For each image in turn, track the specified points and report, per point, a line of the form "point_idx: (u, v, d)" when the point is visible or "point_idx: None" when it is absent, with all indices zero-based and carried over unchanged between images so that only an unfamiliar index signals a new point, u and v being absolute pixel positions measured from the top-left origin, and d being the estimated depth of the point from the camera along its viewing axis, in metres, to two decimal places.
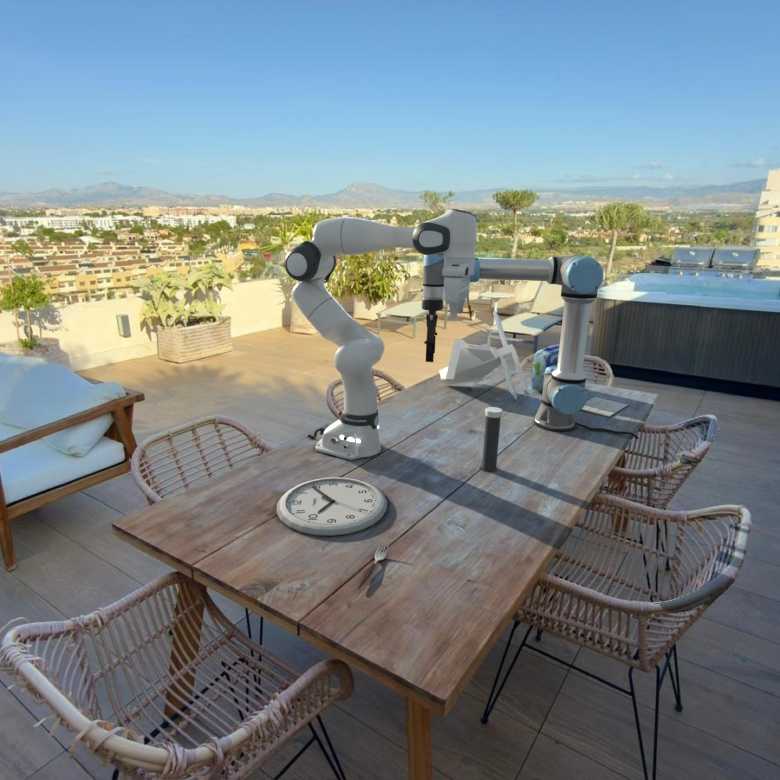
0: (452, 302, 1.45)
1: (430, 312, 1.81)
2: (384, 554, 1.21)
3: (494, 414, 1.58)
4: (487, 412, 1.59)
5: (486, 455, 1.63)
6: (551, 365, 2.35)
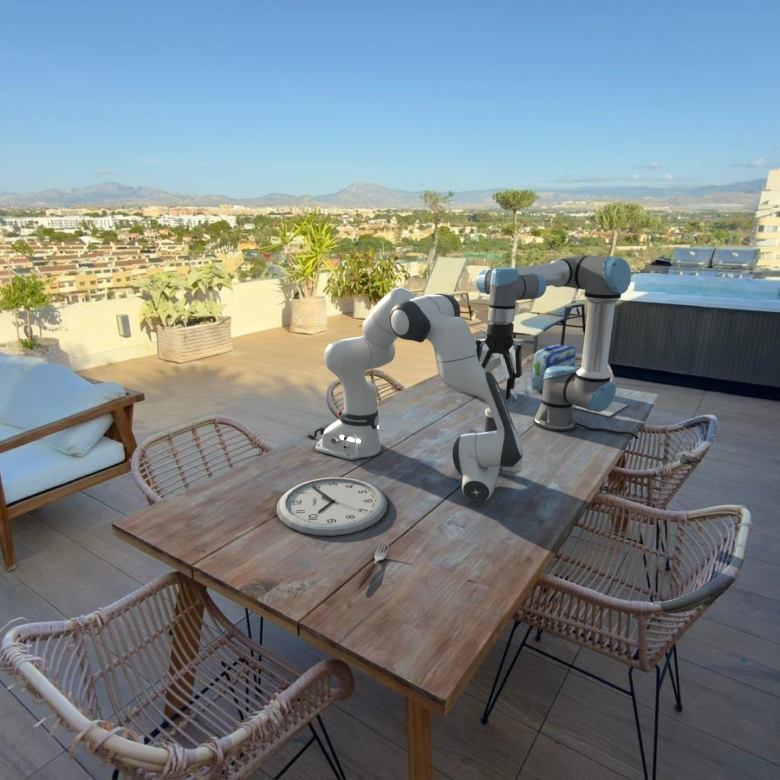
0: None
1: None
2: (384, 554, 1.21)
3: None
4: (487, 412, 1.59)
5: None
6: (551, 365, 2.35)
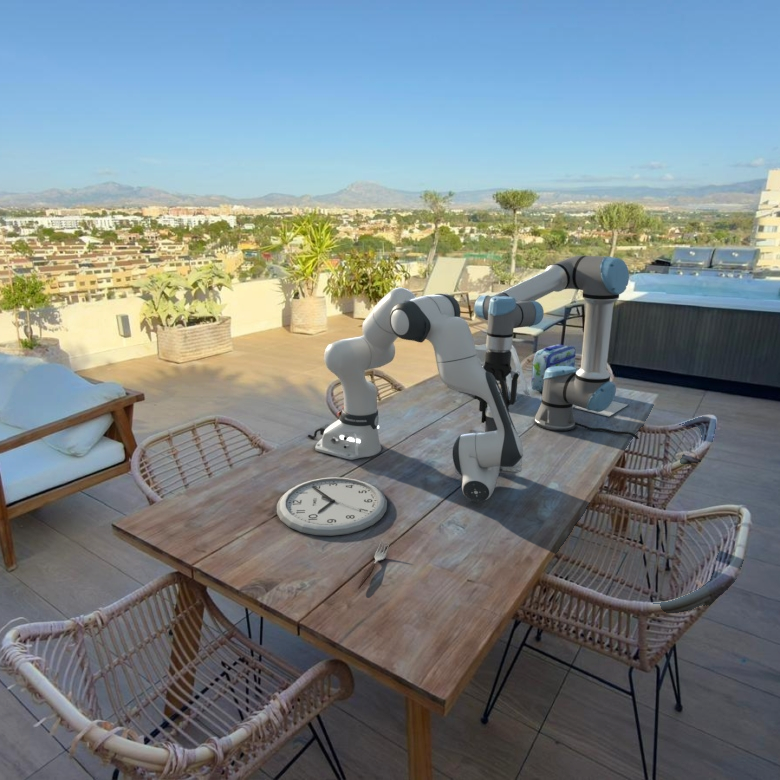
0: None
1: None
2: (384, 554, 1.21)
3: None
4: (487, 412, 1.59)
5: None
6: (551, 365, 2.35)
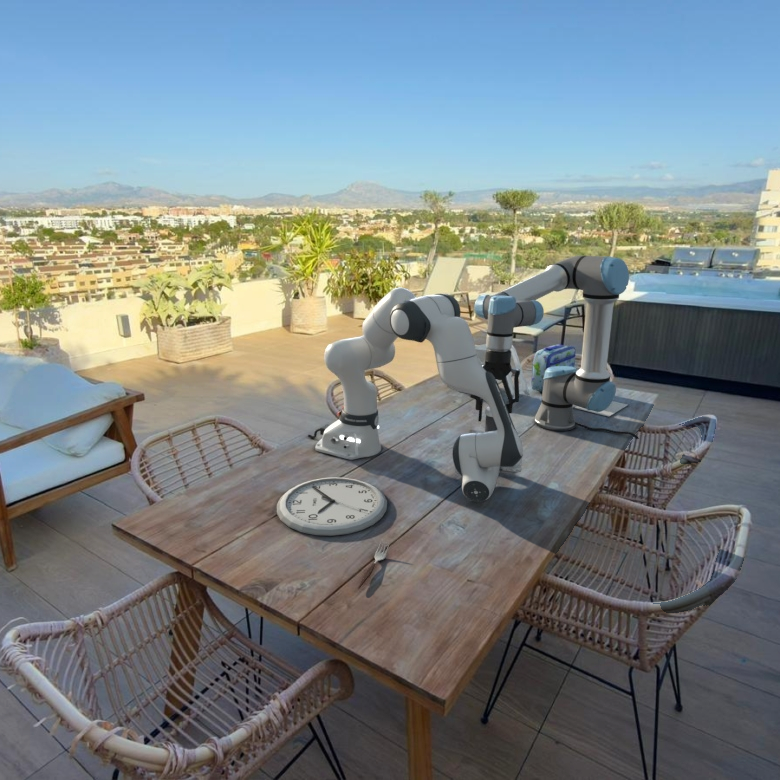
0: None
1: None
2: (384, 554, 1.21)
3: None
4: None
5: None
6: (551, 365, 2.35)
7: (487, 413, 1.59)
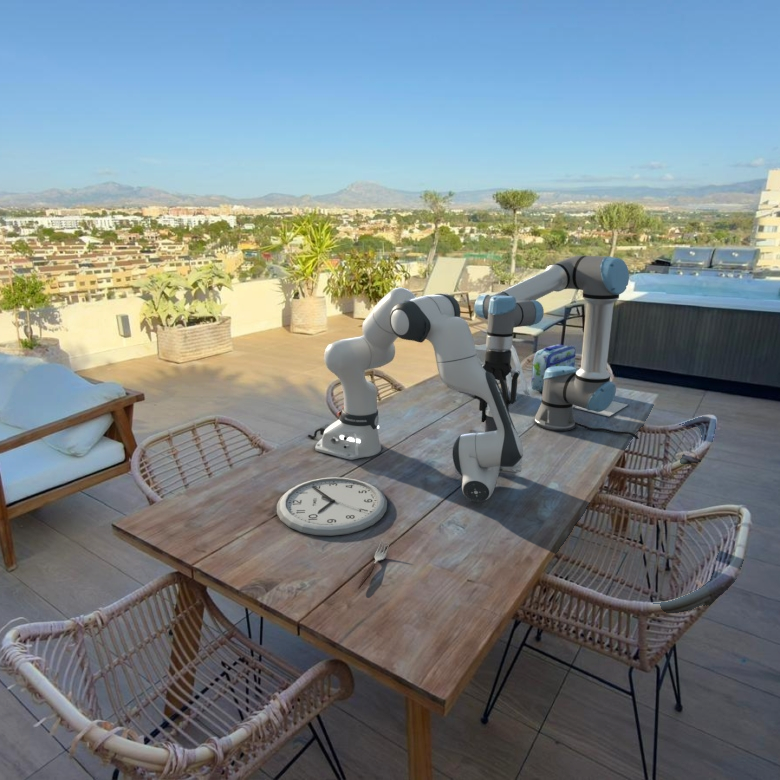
0: None
1: None
2: (384, 554, 1.21)
3: None
4: None
5: None
6: (551, 365, 2.35)
7: (487, 413, 1.59)
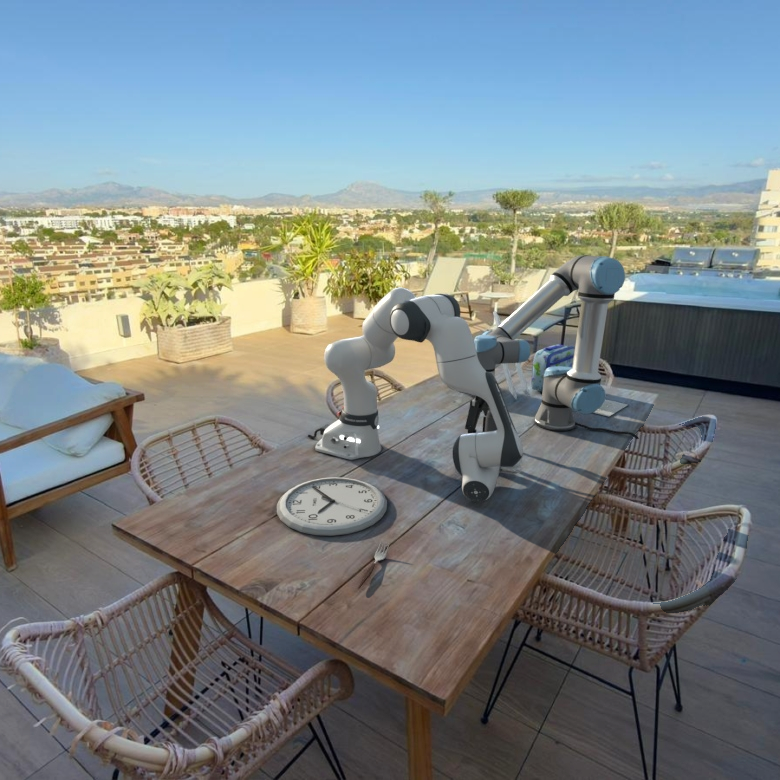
0: None
1: (476, 396, 1.74)
2: (384, 554, 1.21)
3: None
4: None
5: None
6: (551, 365, 2.35)
7: None
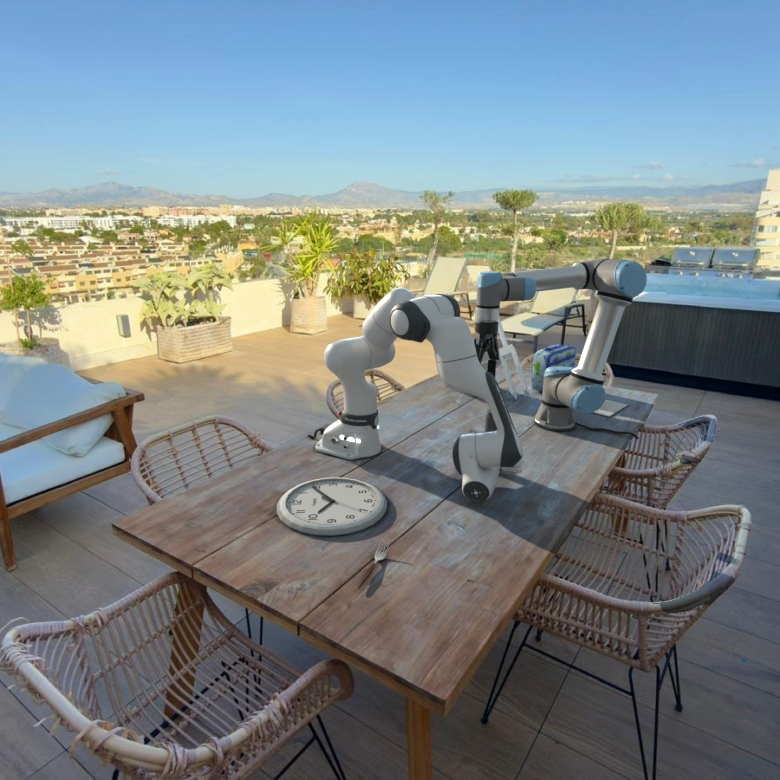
0: None
1: (480, 335, 1.68)
2: (384, 554, 1.21)
3: None
4: None
5: None
6: (551, 365, 2.35)
7: None
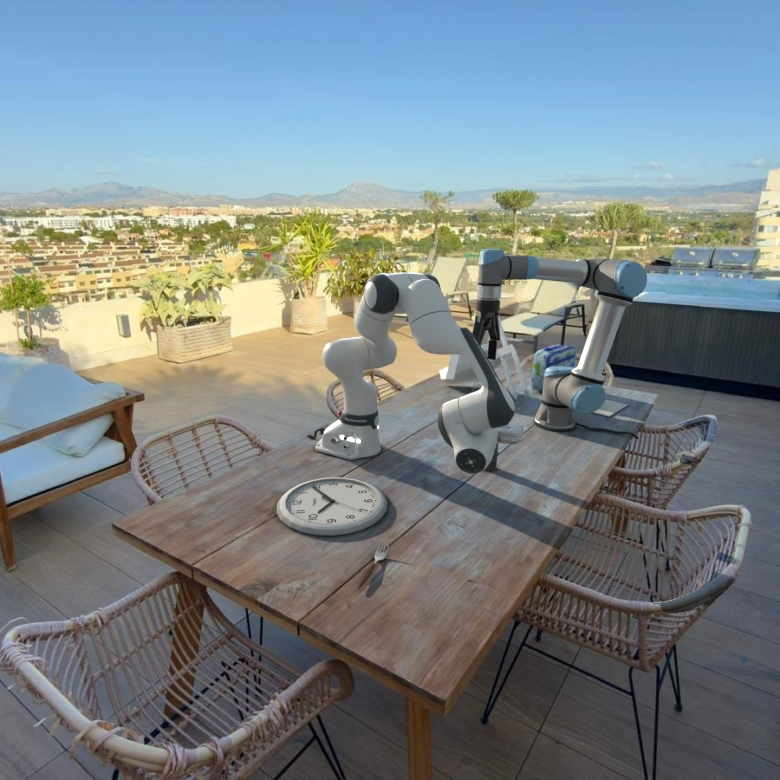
0: None
1: (481, 313, 1.66)
2: (384, 554, 1.21)
3: None
4: None
5: None
6: (551, 365, 2.35)
7: None
